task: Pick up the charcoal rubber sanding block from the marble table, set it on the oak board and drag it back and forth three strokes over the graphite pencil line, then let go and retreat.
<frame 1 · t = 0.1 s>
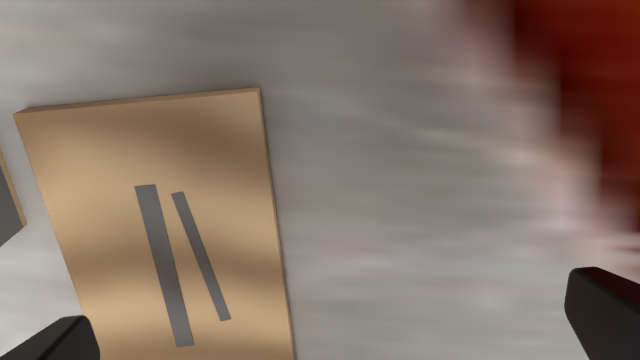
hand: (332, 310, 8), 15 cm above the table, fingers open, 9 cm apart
oak board: (181, 258, 25), on the table
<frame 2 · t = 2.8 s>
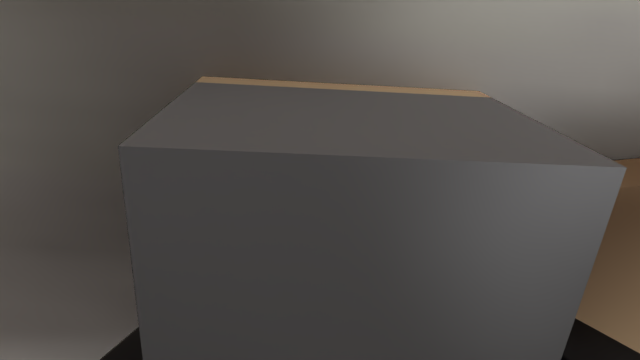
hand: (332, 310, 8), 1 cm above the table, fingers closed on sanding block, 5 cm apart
sanding block: (328, 271, 10), on the table, touching gripper
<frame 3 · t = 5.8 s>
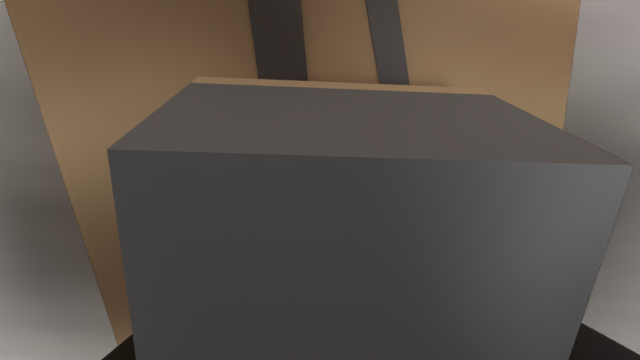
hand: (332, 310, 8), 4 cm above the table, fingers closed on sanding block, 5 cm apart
oak board: (301, 13, 10), on the table
sanding block: (328, 273, 9), point 2 cm above the table, touching gripper
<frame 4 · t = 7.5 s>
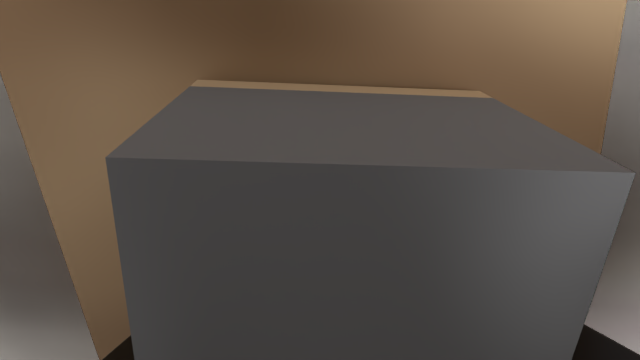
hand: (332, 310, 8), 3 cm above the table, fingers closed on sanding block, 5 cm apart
oak board: (336, 341, 12), on the table
sanding block: (328, 275, 9), point 1 cm above the table, touching gripper
when the fingers open (2 cm above the table, at t = 9.3 s): sanding block stays where it is, resting on oak board.
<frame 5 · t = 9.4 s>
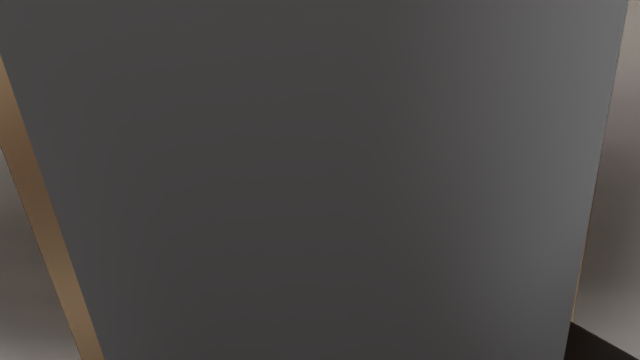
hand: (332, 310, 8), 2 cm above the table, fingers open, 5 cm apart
oak board: (312, 152, 9), on the table
sanding block: (313, 95, 8), point 1 cm above the table, touching oak board
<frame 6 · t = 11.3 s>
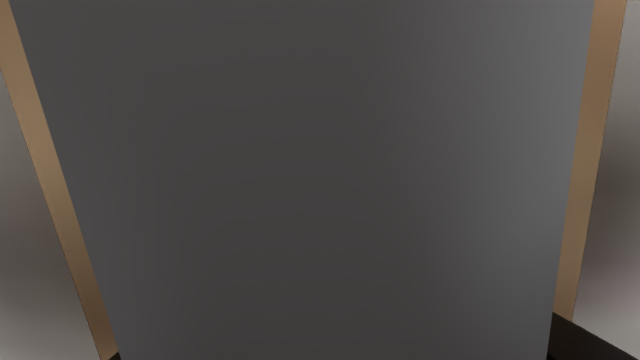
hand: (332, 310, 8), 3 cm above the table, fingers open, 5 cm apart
oak board: (333, 298, 11), on the table
sanding block: (317, 154, 9), point 1 cm above the table
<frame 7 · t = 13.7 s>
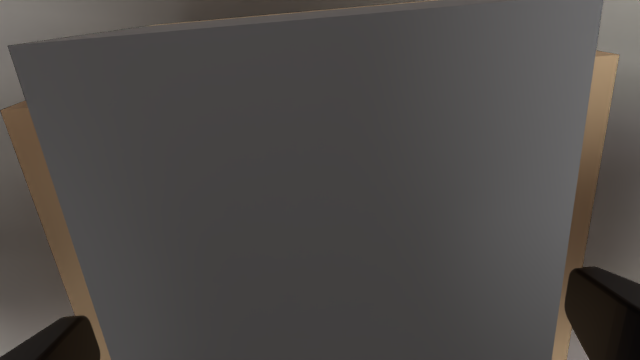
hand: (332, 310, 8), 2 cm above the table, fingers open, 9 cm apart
sanding block: (322, 224, 9), point 1 cm above the table, touching oak board
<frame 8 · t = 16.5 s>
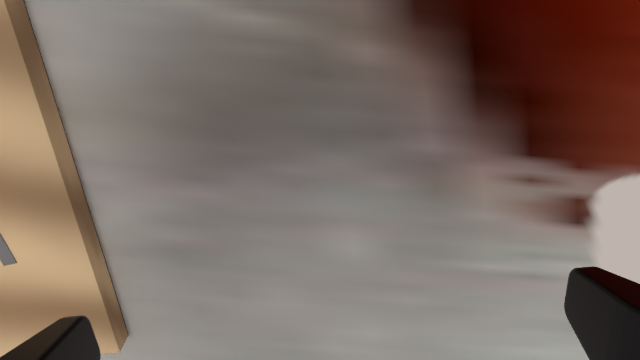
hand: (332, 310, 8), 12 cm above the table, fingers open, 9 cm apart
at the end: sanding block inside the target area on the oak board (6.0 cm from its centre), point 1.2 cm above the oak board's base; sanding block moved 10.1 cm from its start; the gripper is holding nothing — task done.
